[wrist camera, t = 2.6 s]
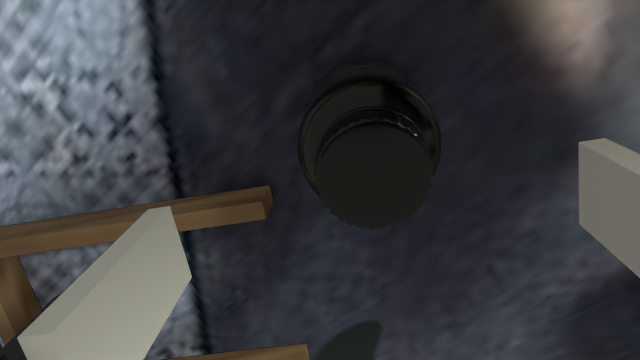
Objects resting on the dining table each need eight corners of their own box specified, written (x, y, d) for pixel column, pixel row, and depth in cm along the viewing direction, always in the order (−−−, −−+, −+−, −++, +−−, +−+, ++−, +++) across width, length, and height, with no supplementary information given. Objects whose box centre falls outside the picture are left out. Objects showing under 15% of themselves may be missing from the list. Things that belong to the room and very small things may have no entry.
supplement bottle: (292, 137, 31) (259, 210, 19) (337, 38, 28) (329, 55, 17) (386, 180, 31) (407, 275, 20) (437, 87, 29) (494, 134, 18)
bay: (-22, 229, 34) (-81, 264, 30) (269, 184, 32) (256, 214, 27) (63, 411, 40) (25, 465, 35) (316, 386, 37) (311, 439, 33)
